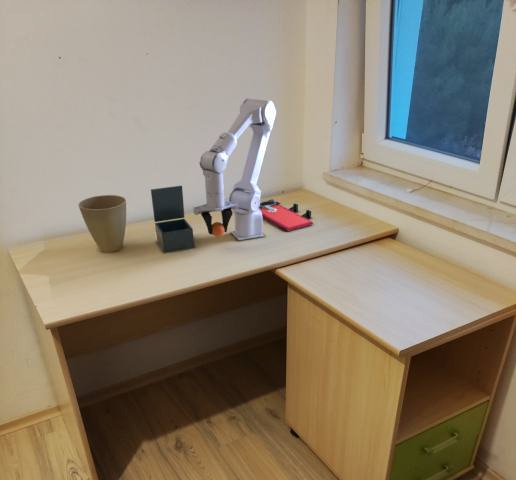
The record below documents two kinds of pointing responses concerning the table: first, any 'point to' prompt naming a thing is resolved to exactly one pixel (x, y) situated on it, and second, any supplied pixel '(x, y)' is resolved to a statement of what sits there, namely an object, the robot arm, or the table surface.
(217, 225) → the orange ball
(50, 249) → the table surface
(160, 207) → the bin lid
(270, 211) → the red board with handle
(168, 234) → the bin
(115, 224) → the plant pot
